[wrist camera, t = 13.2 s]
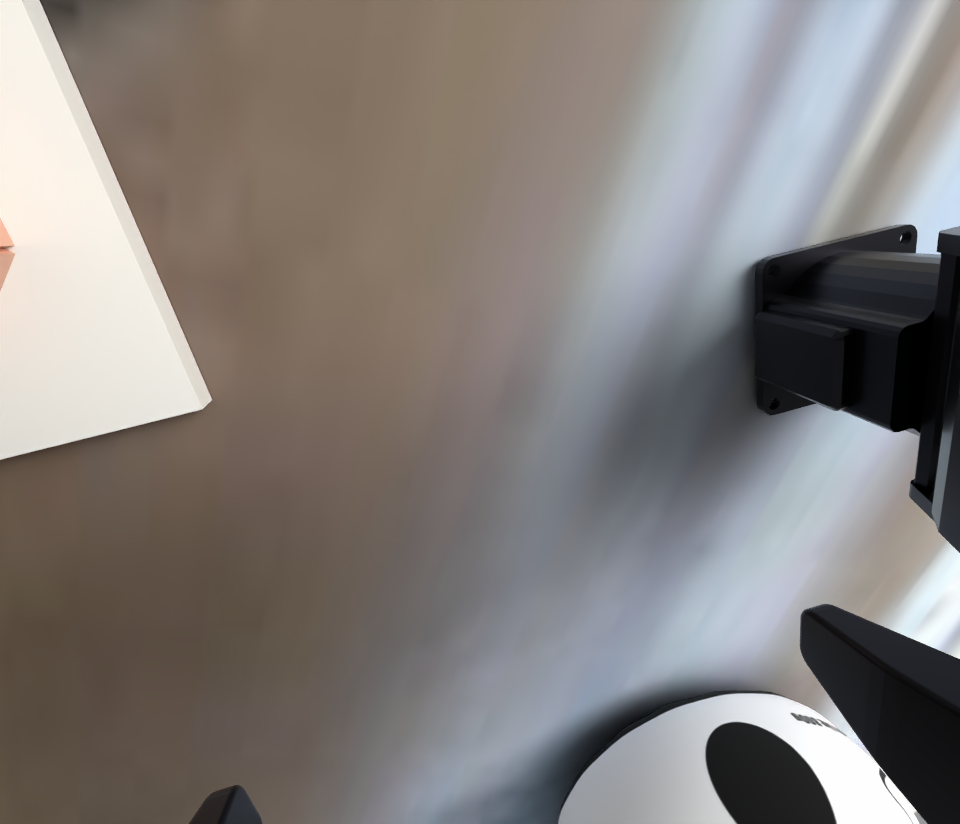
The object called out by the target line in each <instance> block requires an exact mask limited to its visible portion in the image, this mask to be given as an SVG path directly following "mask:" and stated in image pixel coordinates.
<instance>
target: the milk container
mask: <svg viewBox="0 0 960 824" xmlns="http://www.w3.org/2000/svg"><path fill="white" fill-rule="evenodd" d="M558 824H920V823H919V822H918V820H917V819H916V817H915V815H914V814H913V812H912V811H911V809H910V808H909V806H908V804H907V803H906V801H905V800H904V798H903V797H902V795H901V794H900V793H899V791H898V790H897V789H896V787H895V786H894V785H893V784H892V782H891V781H890V780H889V778H888V777H887V776H886V775H885V774H884V773H883V771H882V770H881V769H880V768H879V767H878V766H877V765H876V764H875V763H874V762H873V761H872V759H871V758H870V757H869V756H868V755H867V754H866V753H865V752H864V751H863V750H861V749H860V748H859V747H858V746H857V745H856V744H855V743H854V742H853V741H852V740H851V739H849V738H848V737H847V736H846V735H845V734H843V733H842V732H841V731H840V730H839V729H838V728H836V727H835V726H834V725H833V724H832V723H830V722H829V721H828V720H827V719H825V718H824V717H823V716H821V715H820V714H819V713H817V712H816V711H814V710H813V709H811V708H809V707H807V706H805V705H802V704H800V703H798V702H796V701H793V700H791V699H788V698H786V697H783V696H781V695H778V694H775V693H771V692H764V691H715V692H711V693H707V694H704V695H701V696H698V697H695V698H691V699H687V700H682V701H678V702H674V703H670V704H667V705H665V706H663V707H662V708H660V709H658V710H656V711H655V712H653V713H651V714H650V715H648V716H647V717H645V718H643V719H641V720H639V721H636V722H634V723H633V724H631V725H629V726H627V727H625V728H623V729H622V730H621V731H620V732H619V733H618V734H617V735H616V736H615V737H614V738H613V739H612V740H611V741H610V742H609V743H608V744H607V745H606V746H605V747H604V748H603V749H601V750H600V751H599V752H598V753H597V754H596V755H594V756H593V757H592V758H591V759H590V760H589V761H588V762H587V764H586V765H585V766H584V768H583V769H582V771H581V772H580V774H579V775H578V776H577V778H576V780H575V781H574V783H573V785H572V787H571V788H570V790H569V792H568V794H567V795H566V797H565V799H564V802H563V804H562V806H561V810H560V814H559V820H558Z"/></svg>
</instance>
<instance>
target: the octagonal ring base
mask: <svg viewBox="0 0 960 824" xmlns="http://www.w3.org/2000/svg"><path fill="white" fill-rule="evenodd" d="M211 401H212V399H211V396H210V394H209V392H208V389H207V387H206V385H205V382H204V380H203V378H202V375H201V373H200V371H199V368H198V366H197V364H196V362H195V359H194V357H193V355H192V352H191V350H190V348H189V345H188V343H187V341H186V338H185V336H184V334H183V331H182V329H181V327H180V324H179V322H178V320H177V318H176V315H175V313H174V311H173V308H172V306H171V304H170V301H169V299H168V297H167V294H166V292H165V290H164V287H163V285H162V283H161V281H160V278H159V276H158V274H157V271H156V269H155V267H154V264H153V262H152V260H151V257H150V255H149V253H148V250H147V248H146V246H145V243H144V241H143V239H142V237H141V234H140V232H139V230H138V227H137V225H136V223H135V220H134V218H133V216H132V213H131V211H130V209H129V206H128V204H127V202H126V200H125V197H124V195H123V193H122V190H121V188H120V186H119V183H118V181H117V179H116V176H115V174H114V172H113V169H112V167H111V165H110V163H109V160H108V158H107V156H106V153H105V151H104V149H103V146H102V144H101V142H100V139H99V137H98V135H97V132H96V130H95V128H94V125H93V123H92V121H91V119H90V116H89V114H88V112H87V109H86V107H85V105H84V102H83V100H82V98H81V95H80V93H79V91H78V88H77V86H76V84H75V82H74V79H73V77H72V75H71V72H70V70H69V68H68V65H67V63H66V61H65V58H64V56H63V54H62V51H61V49H60V47H59V44H58V42H57V40H56V38H55V35H54V33H53V31H52V28H51V26H50V24H49V21H48V19H47V17H46V14H45V12H44V10H43V7H42V5H41V3H40V1H39V0H0V460H1V459H5V458H9V457H13V456H17V455H21V454H25V453H29V452H33V451H37V450H41V449H45V448H49V447H53V446H57V445H61V444H65V443H69V442H73V441H77V440H81V439H85V438H89V437H93V436H97V435H101V434H105V433H109V432H113V431H117V430H121V429H125V428H129V427H133V426H137V425H141V424H145V423H149V422H153V421H157V420H161V419H165V418H170V417H174V416H178V415H182V414H186V413H190V412H194V411H198V410H202V409H203V408H204V407H205V406H206V405H207V404H208V403H210V402H211Z"/></svg>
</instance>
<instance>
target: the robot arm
mask: <svg viewBox="0 0 960 824" xmlns="http://www.w3.org/2000/svg"><path fill="white" fill-rule="evenodd" d="M901 235H902V239H901V241H900V237H901ZM916 244H917V230H916V228H915V227H914V226H913V225H895V226H891V227H887V228H882V229H878V230H874V231H870V232H866V233H862V234H858V235H854V236H850V237H846V238H842V239H838V240H834V241H830V242H826V243H822V244H818V245H814V246H810V247H806V248H801V249H797V250H793V251H789V252H785V253H781V254H777V255H773V256H769V257H766V258H764V259H762V260H761V261H760V262H759V263H758V265H757V267H756V272H755V288H756V318H755V374H756V376H757V406H758V409H759V410H760V411H762V412H764V413H766V414H769V415H775V414H779V413H783V412H786V411H790V410H794V409H797V408H801V407H805V406H808V405H812V404H816V403H817V404H819V405H822V406H824V407H827V408H829V409H831V410H834V411H838V410H841V411H844V412H846V413H849V414H851V415H853V416H856V417H858V418H861V419H863V420H866V421H868V422H870V423H873V424H875V425H878V426H880V427H883V428H885V429H887V430H890V431H892V432H900V431H904V430H905V431H908V432H911V433H913V434H916V435H918V436H920V438H919V447H918V455H917V464H916V472H915V479H914V480H912V481H911V482H910V491H909V497H910V498H911V499H912V500H913V501H914V502H915V503H916V504H917V505H918V506H919V507H920V508H921V509H922V510H923V511H924V512H925V513H926V514H927V515H928V516H929V517H930V518H931V519H932V520H934V521H935V523H936V526H937V529H938V532H939V533H940V534H941V535H942V536H943V537H944V538H945V539H946V540H947V541H948V542H949V543H950V544H951V545H952V546H953V547H954V548H955V549H956V550H957V551H958V552H959V553H960V226H959V227H955V228H951V229H947V230H943V231H940V232H939V237H938V246H937V252H940V253H941V255H935V254H917V253H916ZM772 265H773V268H774V269H773V272H772V274H771V275H770V276H769V274H768V271H769V268H770V267H771V266H772ZM772 399H773V403H772V404H771V405H770V406H769V402H770V401H771V400H772ZM800 649H801V653H802V656H803V658H804V660H805V662H806V664H807V665H808V667H809V668H810V669H811V671H812V672H813V674H814V675H815V676H816V678H817V679H818V681H819V682H820V684H821V685H822V686H823V688H824V689H825V691H826V692H827V694H828V695H829V696H830V698H831V699H832V701H833V702H834V703H835V705H836V706H837V708H838V709H839V711H840V712H841V713H842V715H843V716H844V718H845V719H846V721H847V722H848V723H849V725H850V726H851V728H852V729H853V730H854V732H855V733H856V735H857V736H858V738H859V739H860V740H861V742H862V743H863V745H864V746H865V747H866V749H867V750H868V751H869V753H870V754H871V755H872V757H873V758H874V759H875V761H876V762H877V763H878V764H879V766H880V767H881V768H882V769H883V771H884V772H885V773H886V774H887V776H888V777H889V778H890V779H891V780H892V782H893V783H894V784H895V785H896V786H897V788H898V789H899V790H900V791H901V792H902V794H903V795H904V796H905V797H906V798H907V800H908V801H909V802H910V803H911V804H912V806H913V807H914V808H915V809H916V810H917V812H918V813H919V814H920V815H921V816H922V818H923V819H924V820H925V821H926V822H927V824H960V659H958V658H955V657H953V656H951V655H948V654H946V653H944V652H941V651H939V650H937V649H934V648H932V647H930V646H927V645H925V644H923V643H920V642H918V641H916V640H913V639H911V638H908V637H906V636H904V635H901V634H899V633H897V632H894V631H892V630H890V629H887V628H885V627H883V626H880V625H878V624H876V623H873V622H871V621H869V620H866V619H864V618H861V617H859V616H857V615H854V614H852V613H850V612H847V611H845V610H843V609H840V608H838V607H836V606H833V605H829V604H822V605H818V606H815V607H812V608H809V609H806V610H804V611H803V612H802V614H801V624H800ZM189 824H262V820H261V817H260V815H259V813H258V812H257V810H256V808H255V807H254V805H253V803H252V801H251V800H250V798H249V796H248V795H247V793H246V791H245V789H244V788H243V787H241V786H239V785H234V786H231V787H228V788H225V789H221V790H218V791H216V792H213V793H212V794H211V795H210V796H209V797H208V798H207V799H206V800H205V801H204V803H203V804H202V805H201V807H200V808H199V810H198V811H197V813H196V814H195V815H194V817H193V818H192V820H191V821H190V823H189Z"/></svg>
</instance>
